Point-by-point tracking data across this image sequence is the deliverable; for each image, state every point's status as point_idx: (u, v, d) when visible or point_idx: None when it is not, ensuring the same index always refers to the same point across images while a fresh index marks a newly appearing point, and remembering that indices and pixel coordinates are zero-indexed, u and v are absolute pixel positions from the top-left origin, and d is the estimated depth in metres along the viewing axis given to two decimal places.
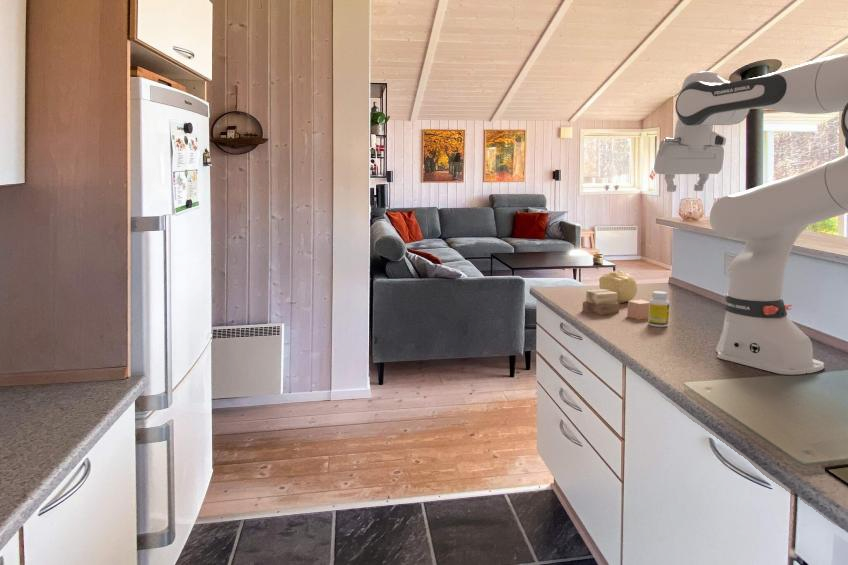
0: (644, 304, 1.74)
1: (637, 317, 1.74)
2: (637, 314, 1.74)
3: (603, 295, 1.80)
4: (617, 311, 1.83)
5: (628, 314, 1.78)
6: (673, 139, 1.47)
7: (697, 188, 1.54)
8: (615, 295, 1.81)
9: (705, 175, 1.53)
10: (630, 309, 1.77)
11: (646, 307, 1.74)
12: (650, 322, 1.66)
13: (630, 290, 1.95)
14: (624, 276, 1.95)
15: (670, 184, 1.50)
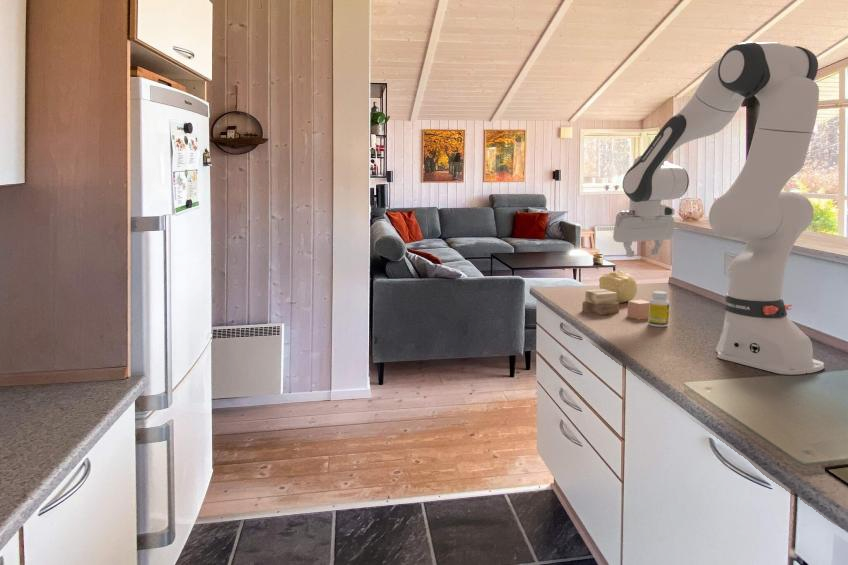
0: (644, 304, 1.74)
1: (637, 317, 1.74)
2: (637, 314, 1.74)
3: (602, 295, 1.80)
4: (617, 311, 1.83)
5: (628, 314, 1.78)
6: (627, 212, 1.69)
7: (653, 252, 1.75)
8: (614, 295, 1.81)
9: (659, 241, 1.74)
10: (630, 309, 1.77)
11: (646, 307, 1.74)
12: (650, 322, 1.66)
13: (630, 290, 1.95)
14: (624, 276, 1.95)
15: (628, 250, 1.71)
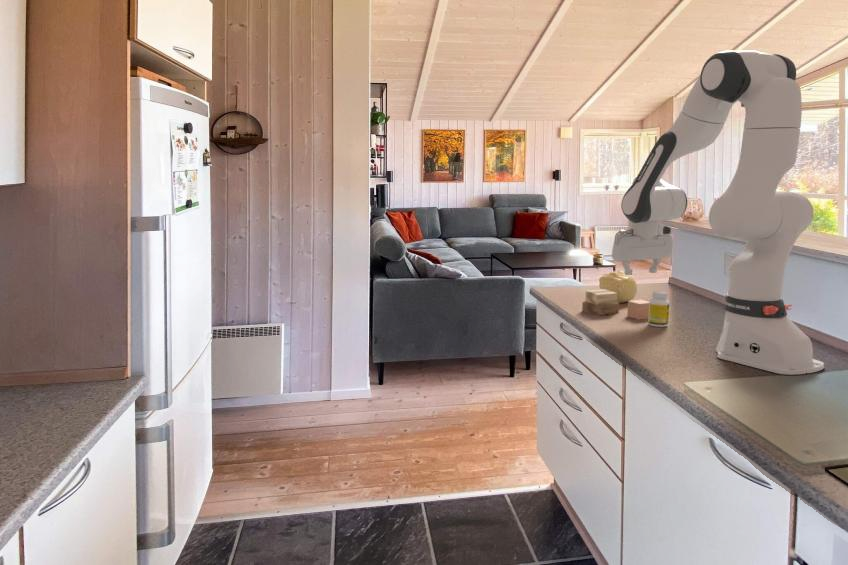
0: (644, 304, 1.74)
1: (637, 317, 1.74)
2: (637, 314, 1.74)
3: (602, 295, 1.80)
4: (617, 311, 1.83)
5: (628, 314, 1.78)
6: (626, 231, 1.70)
7: (651, 270, 1.76)
8: (615, 295, 1.81)
9: (657, 259, 1.75)
10: (630, 309, 1.77)
11: (646, 307, 1.74)
12: (650, 322, 1.66)
13: (630, 290, 1.95)
14: (624, 276, 1.95)
15: (627, 269, 1.72)
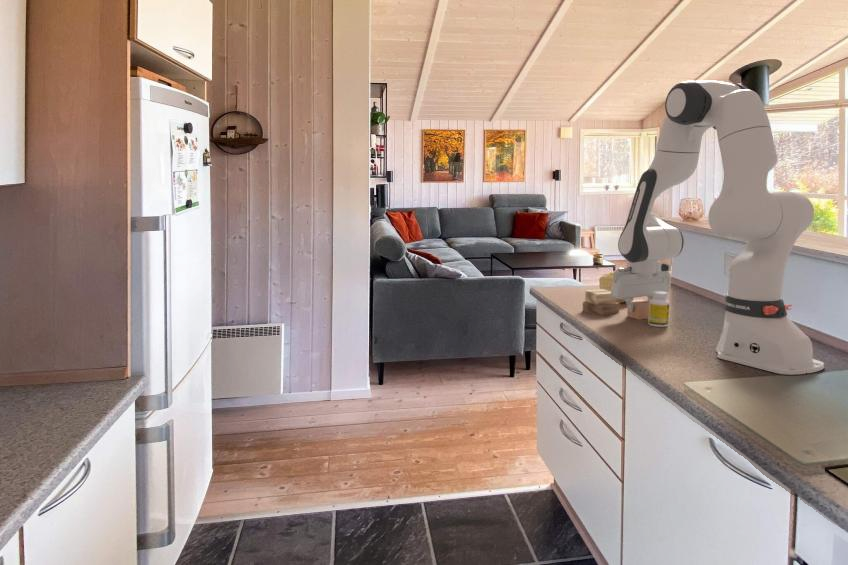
0: (644, 304, 1.74)
1: (637, 317, 1.74)
2: (637, 314, 1.74)
3: (602, 295, 1.80)
4: (617, 311, 1.84)
5: (628, 314, 1.78)
6: (625, 269, 1.72)
7: None
8: None
9: None
10: None
11: (646, 306, 1.74)
12: (650, 322, 1.66)
13: None
14: None
15: (630, 305, 1.75)
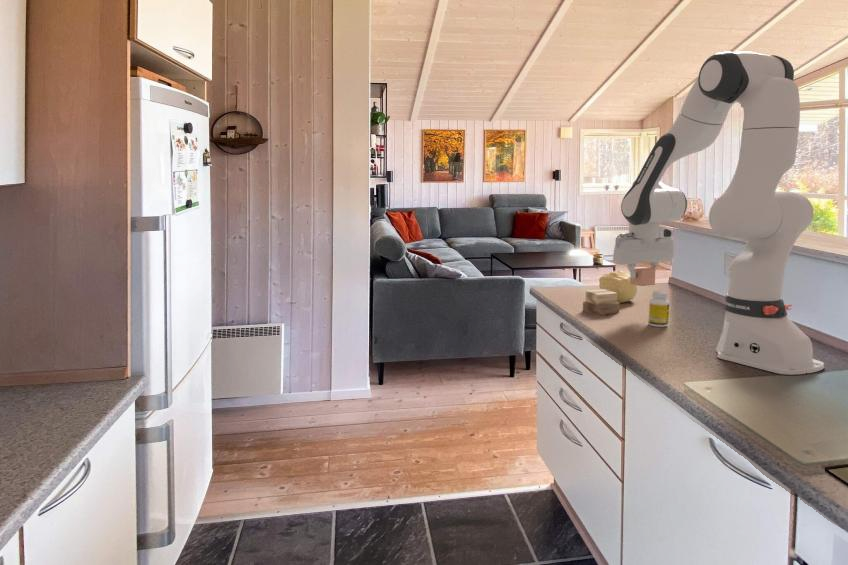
0: (647, 270, 1.72)
1: (640, 283, 1.72)
2: (640, 280, 1.72)
3: (603, 295, 1.80)
4: (617, 311, 1.84)
5: (631, 281, 1.76)
6: (627, 234, 1.70)
7: None
8: (615, 295, 1.81)
9: (655, 263, 1.74)
10: None
11: (649, 273, 1.72)
12: (650, 322, 1.66)
13: (630, 290, 1.95)
14: (624, 276, 1.95)
15: (632, 272, 1.72)
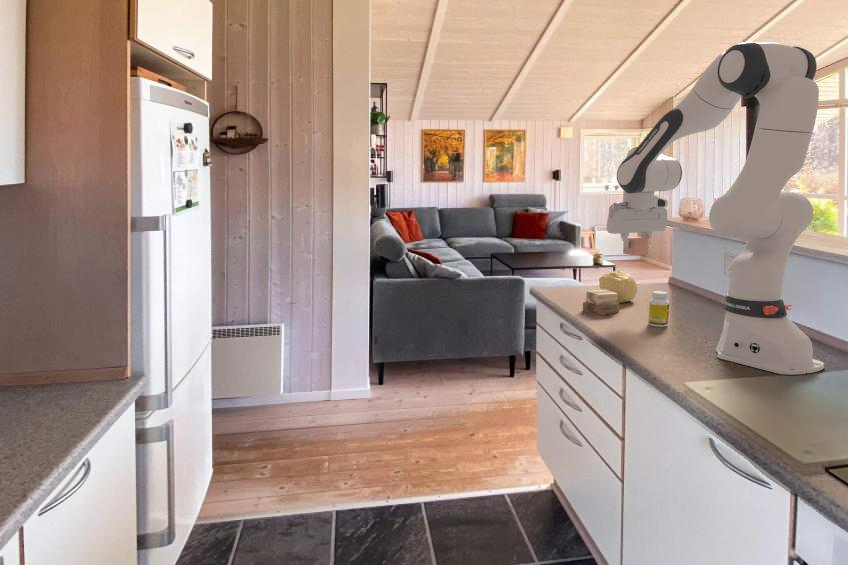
0: (640, 239, 1.72)
1: (633, 253, 1.73)
2: (633, 250, 1.73)
3: (604, 295, 1.80)
4: (617, 311, 1.84)
5: (624, 251, 1.76)
6: (621, 203, 1.70)
7: None
8: (615, 295, 1.81)
9: (648, 233, 1.75)
10: None
11: (642, 242, 1.73)
12: (650, 322, 1.66)
13: (630, 290, 1.95)
14: (624, 276, 1.95)
15: (625, 241, 1.73)
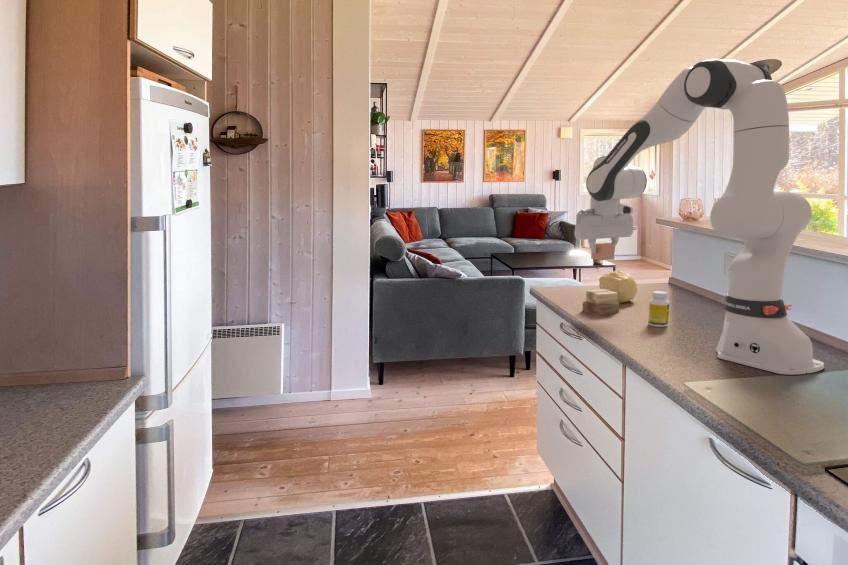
0: (606, 245, 1.79)
1: (600, 258, 1.79)
2: (600, 255, 1.79)
3: (603, 295, 1.81)
4: (617, 311, 1.84)
5: (592, 256, 1.83)
6: (587, 210, 1.77)
7: None
8: (615, 295, 1.82)
9: (615, 238, 1.82)
10: None
11: (608, 248, 1.79)
12: (650, 322, 1.66)
13: (630, 290, 1.95)
14: (624, 276, 1.95)
15: (593, 247, 1.80)
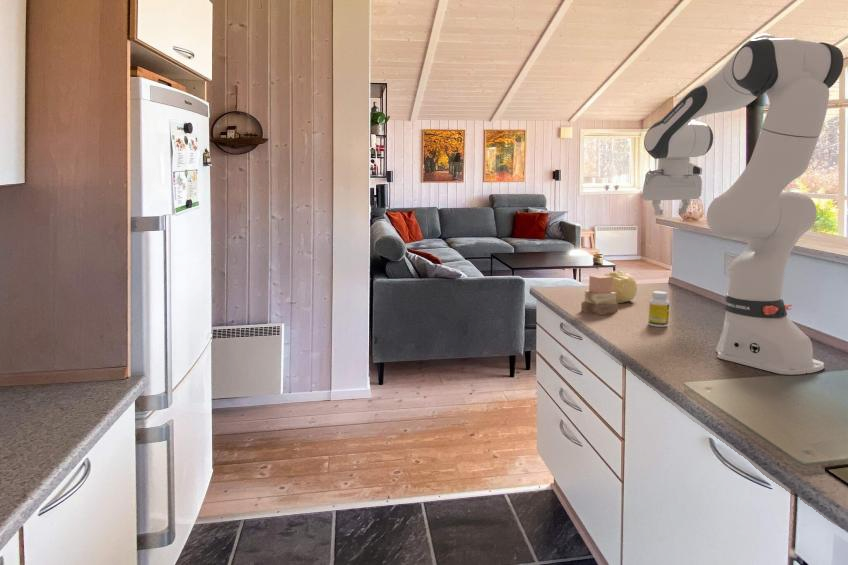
0: (604, 278, 1.81)
1: (598, 291, 1.81)
2: (598, 288, 1.81)
3: (602, 295, 1.81)
4: (616, 311, 1.84)
5: (590, 289, 1.85)
6: (657, 170, 1.71)
7: (681, 212, 1.78)
8: (614, 295, 1.82)
9: (687, 200, 1.77)
10: (591, 284, 1.84)
11: (606, 281, 1.81)
12: (650, 322, 1.66)
13: (630, 290, 1.95)
14: (624, 276, 1.95)
15: (657, 209, 1.74)
